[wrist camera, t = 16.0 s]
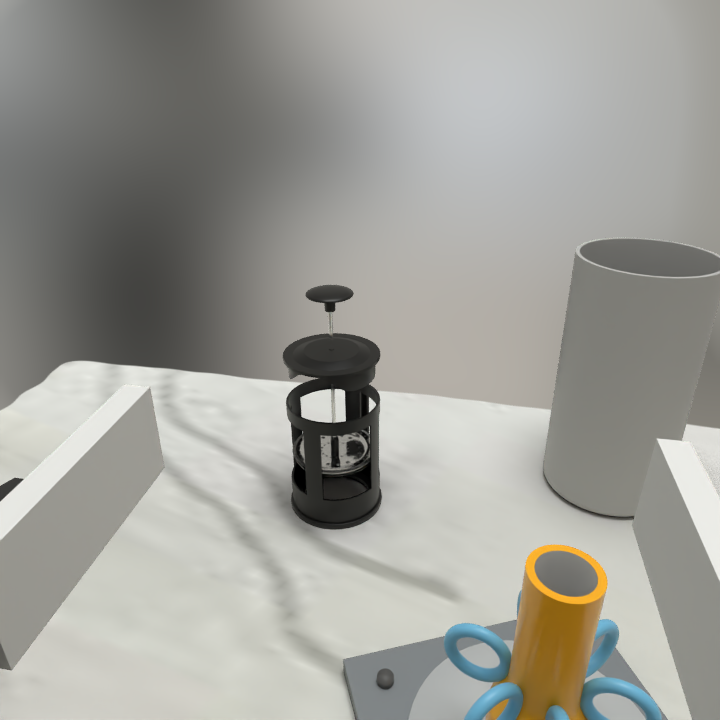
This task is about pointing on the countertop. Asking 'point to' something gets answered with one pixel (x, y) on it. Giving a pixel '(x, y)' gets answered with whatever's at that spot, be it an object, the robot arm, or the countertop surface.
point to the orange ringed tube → (550, 646)
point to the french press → (334, 421)
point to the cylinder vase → (627, 365)
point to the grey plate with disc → (454, 680)
